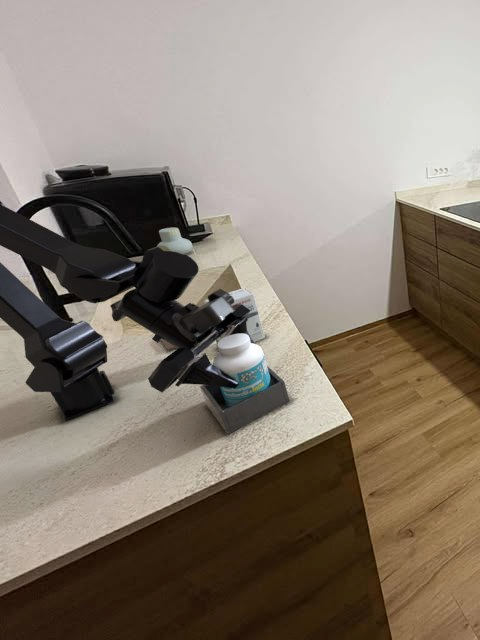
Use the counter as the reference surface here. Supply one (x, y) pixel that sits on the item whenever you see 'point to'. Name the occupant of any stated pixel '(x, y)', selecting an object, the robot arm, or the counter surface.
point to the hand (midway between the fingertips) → (250, 371)
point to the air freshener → (174, 241)
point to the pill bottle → (242, 367)
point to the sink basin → (246, 404)
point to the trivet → (168, 345)
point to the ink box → (253, 317)
